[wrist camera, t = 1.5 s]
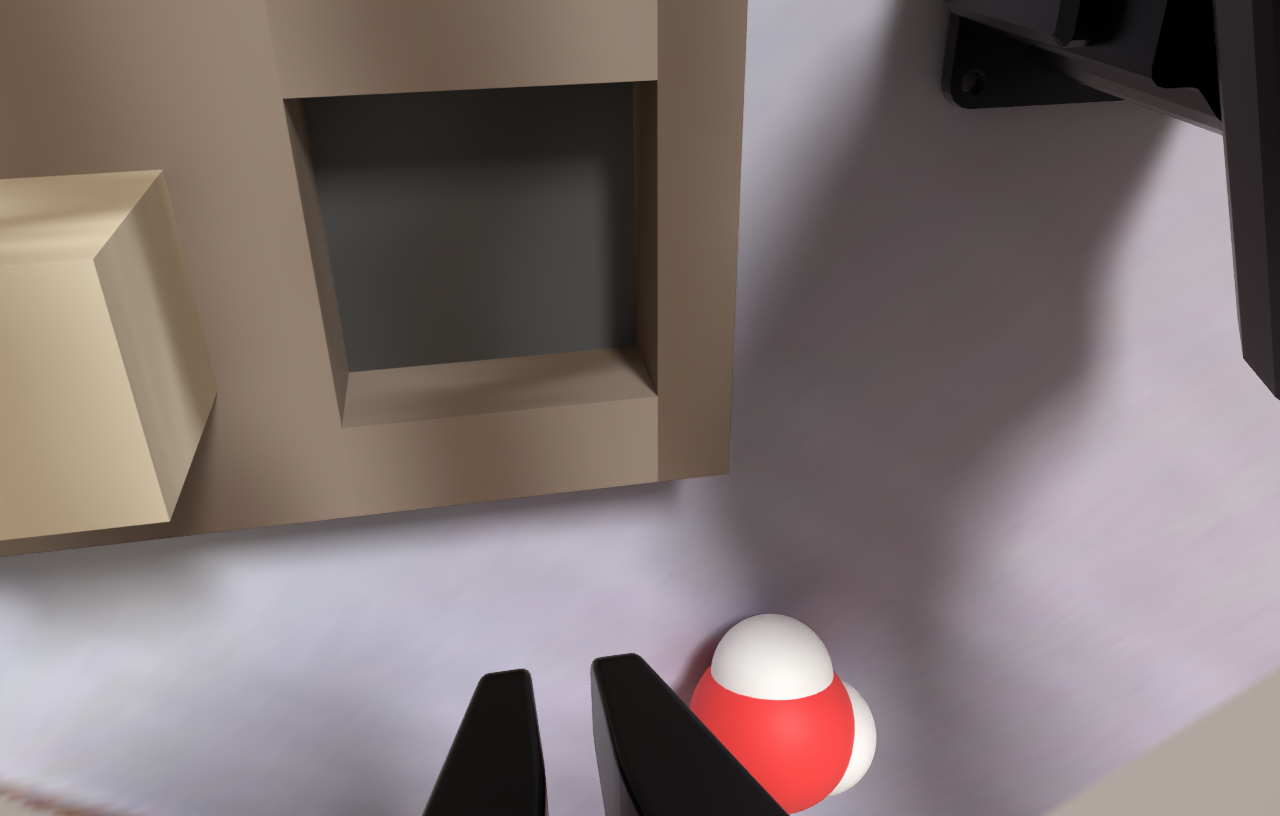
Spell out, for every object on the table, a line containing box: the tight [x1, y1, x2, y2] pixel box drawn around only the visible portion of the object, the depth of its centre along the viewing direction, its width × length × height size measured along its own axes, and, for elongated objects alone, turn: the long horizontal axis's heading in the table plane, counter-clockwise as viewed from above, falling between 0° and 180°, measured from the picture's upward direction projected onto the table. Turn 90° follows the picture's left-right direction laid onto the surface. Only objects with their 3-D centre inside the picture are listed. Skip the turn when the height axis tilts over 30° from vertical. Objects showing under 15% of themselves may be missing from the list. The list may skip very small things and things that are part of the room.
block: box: [0, 170, 217, 540], centre depth 15 cm, size 4×4×4 cm
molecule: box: [689, 614, 877, 814], centre depth 26 cm, size 5×5×4 cm
